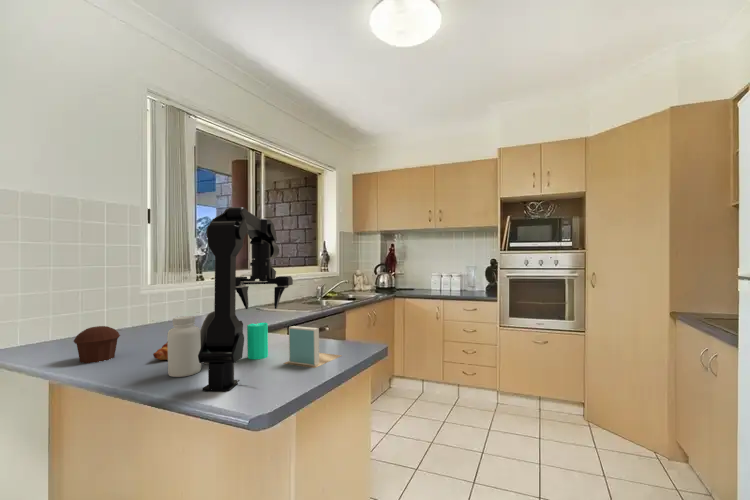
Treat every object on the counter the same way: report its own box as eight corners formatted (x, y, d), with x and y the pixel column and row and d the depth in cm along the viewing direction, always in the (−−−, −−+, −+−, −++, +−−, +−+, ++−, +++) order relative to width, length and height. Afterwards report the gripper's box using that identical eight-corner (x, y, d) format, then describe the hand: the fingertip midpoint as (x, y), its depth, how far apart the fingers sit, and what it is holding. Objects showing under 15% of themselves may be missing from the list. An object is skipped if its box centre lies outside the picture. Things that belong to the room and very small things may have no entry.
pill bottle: (170, 370, 104) (169, 316, 104) (202, 367, 106) (201, 314, 107) (165, 379, 96) (164, 320, 96) (199, 375, 99) (199, 318, 99)
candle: (271, 356, 117) (270, 317, 118) (263, 361, 111) (263, 320, 112) (252, 356, 118) (252, 317, 118) (244, 361, 112) (243, 320, 112)
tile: (314, 366, 104) (314, 329, 104) (289, 362, 108) (288, 327, 108) (319, 364, 105) (318, 328, 106) (293, 360, 110) (293, 326, 110)
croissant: (202, 356, 132) (194, 335, 134) (223, 344, 130) (214, 323, 131) (148, 373, 113) (139, 348, 114) (171, 359, 110) (161, 334, 111)
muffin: (73, 366, 110) (73, 332, 110) (73, 359, 118) (73, 327, 118) (122, 359, 117) (122, 326, 117) (118, 352, 126) (118, 322, 126)
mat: (314, 370, 102) (314, 367, 102) (283, 365, 107) (283, 363, 107) (342, 357, 114) (342, 355, 114) (312, 353, 119) (312, 351, 119)
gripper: (296, 258, 126) (297, 305, 126) (241, 259, 127) (242, 305, 127) (287, 258, 115) (288, 310, 115) (227, 259, 116) (227, 310, 116)
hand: (261, 308), depth 118 cm, fingers open, 9 cm apart
